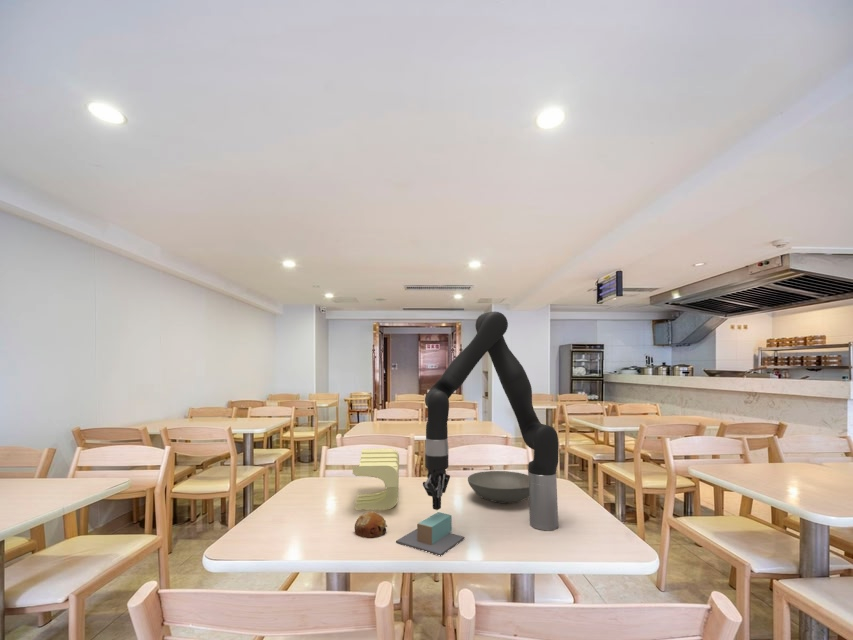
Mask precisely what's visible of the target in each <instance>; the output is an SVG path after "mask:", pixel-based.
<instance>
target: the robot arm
mask: <svg viewBox="0 0 853 640" xmlns="http://www.w3.org/2000/svg"><path fill="white" fill-rule="evenodd" d="M508 327H509V323H508V319H507V317H506V316H505V314H503V313H501V312H500V311H489V312H484V313H482V314H480V315H478V317H477V318H476V321H475V332H476V334H475V336H473V339H472V340H471V341H470V343H468V345H467V346H466V347H465V348H464V349H463V350H461V352H460V353H458V355H457V356H456V357H455V358H454V359H453V360H452V362H450V364H449V365H448V367H447V368H446V370H445V371H444V372H443V373H442V376H440V378H438V380H437V381H436V382H435V383H434V384H433V386H432V387H431V388H430V389H429V390H428V392H427V393H426V395H425V398H424V403H425V406H426V407H427V421H426V426H425V444H424V448H425V450H424V467H425V469H427V475H426V476H427V477H426V478H427V479H426V481H423V482H422V486H423V488H424V490H425V492H426V495H427V496H429V497H432V509H433V510H435V511H438V510H440V509H441V508H442V496H443V494H445V493H446V491H447V488H448V485H449V481H450V478H451V475H450V474H447V469H449V443H448V442H449V439H448V438H449V437H448V434H449V433H448V421H449V412H450V397H451V396H452V394H454V393H455V392H456V391H458V390H459V389H460V387H461V386H462V385H463V384H464V382H465V381H466V380H467V378H468V377H469V375H470V374H471V373H472V371H473V370H474V368H475V367H476V366H477V365H478V363H479V362H480V360H481V359H482V358H483V357H484V356H485V354H486V353H488V355H489V357H490V359H491V363H492V365H493V367H494V370H495V372H496V374H497V378H498V380H499V382H500V384H501V387H502V389H503V391H504V394H505V395H506V398H507V400H508V402H509V404H510V407H511V409H512V411H513V413H514V415H515V418H516V422H517V424H518V427H519V429H520V431H519V432H520V434H521V436H522V439H523V441H524V444H525V445H526V446H527V447H528V448H530V449H532V450H533V460H531V461H529V462H528V465H527V475H528V480H529V497H528V507H529V508H528V510H529V525H530V526H531V527H532V528H534V529H537V530H541V531H554V530H556V529H558V528H559V509H558V508H559V506H558V504H559V503H558V483H557V482H558V481H557V468H558V465H559V455H560V454H559V436H558V432H557V430H556V429H555V428H554V427H552V426H551V425H547V424H544V423H541V421H540V419H539V417H538V416H537V414H536V412H535V411H536V410H535V409H534V405H533V389H532V385H531V382H530V380H529V376H528V375H527V372H526V370H525V368H524V367H523V365H522V364H521V362H520V360H518V358H517V357H516V356H515V355H514V353H513V352H512V351H511V349H510V347H509V346H508V344H507V342H506V340H505V339H506V338H505V337H504V335H505V333H506V332H507V330H508Z"/></svg>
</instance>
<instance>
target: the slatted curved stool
mask: <svg viewBox="0 0 853 640" xmlns="http://www.w3.org/2000/svg"><path fill="white" fill-rule="evenodd" d="M358 464H359V465H352V475H353V476H355V477H369V478H376V479H378V480H381V481H382V482H383V484H384V487H385V488H386V489H384V490H383V491H379V492H375V493H366V494H365V493H364V494H358V496H357V499H356V502H355V508H354V510H355V509H375V510H390V509H393V508H394V507H395V506H396V505H397V503H398V500H399V490H400V487H399V478H400V475H399V474H400V473H399V471H400V453H398V451H397V450H396V449H394V448H362V449H361V454H360V460H359V463H358Z"/></svg>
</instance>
